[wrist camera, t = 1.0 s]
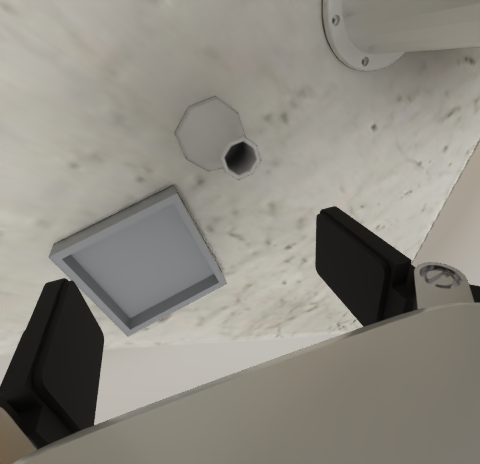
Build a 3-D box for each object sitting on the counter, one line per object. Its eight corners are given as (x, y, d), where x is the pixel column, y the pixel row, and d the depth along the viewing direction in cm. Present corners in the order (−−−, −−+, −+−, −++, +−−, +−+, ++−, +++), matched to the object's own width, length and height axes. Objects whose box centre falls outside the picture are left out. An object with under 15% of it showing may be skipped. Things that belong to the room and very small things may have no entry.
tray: (173, 184, 32) (176, 193, 30) (221, 271, 40) (227, 283, 37) (54, 244, 31) (48, 257, 29) (127, 321, 38) (127, 336, 36)
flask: (255, 139, 32) (298, 162, 24) (207, 181, 33) (233, 219, 25) (215, 81, 28) (251, 85, 20) (161, 131, 29) (174, 155, 21)
